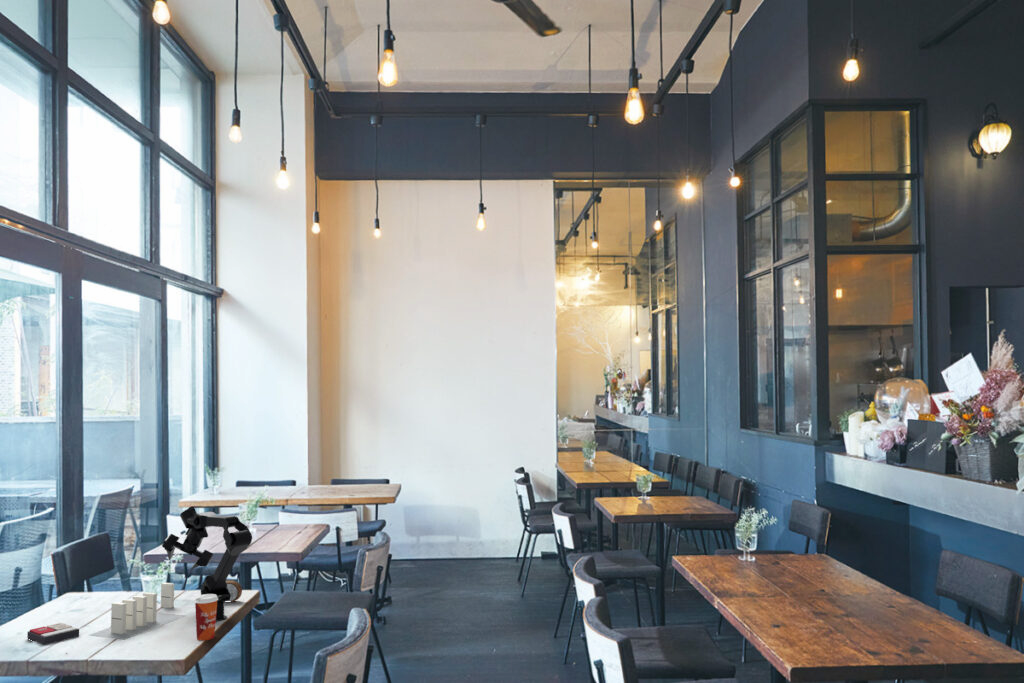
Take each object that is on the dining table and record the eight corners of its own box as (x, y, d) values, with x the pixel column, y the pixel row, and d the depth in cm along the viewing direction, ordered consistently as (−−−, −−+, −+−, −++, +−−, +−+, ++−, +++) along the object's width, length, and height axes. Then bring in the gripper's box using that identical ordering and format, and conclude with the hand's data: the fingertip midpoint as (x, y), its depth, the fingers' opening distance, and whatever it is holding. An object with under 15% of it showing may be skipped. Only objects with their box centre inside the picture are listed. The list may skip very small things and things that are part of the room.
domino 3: (135, 623, 263) (136, 595, 263) (146, 624, 261) (147, 596, 262) (132, 625, 261) (132, 596, 262) (142, 626, 259) (143, 597, 260)
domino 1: (114, 631, 254) (115, 602, 255) (125, 632, 252) (126, 603, 253) (110, 632, 253) (111, 603, 253) (121, 634, 251) (122, 604, 252)
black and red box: (62, 621, 259) (79, 626, 250) (61, 633, 259) (79, 639, 250) (27, 629, 251) (44, 635, 241) (26, 642, 250) (43, 648, 241)
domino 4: (145, 619, 267) (146, 592, 268) (156, 621, 265) (156, 593, 266) (142, 621, 265) (142, 593, 266) (152, 622, 264) (153, 594, 264)
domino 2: (125, 627, 258) (126, 598, 259) (136, 628, 257) (136, 599, 257) (121, 628, 257) (122, 600, 258) (132, 630, 255) (133, 601, 256)
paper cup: (202, 643, 243) (203, 600, 244) (188, 639, 247) (189, 597, 248) (222, 636, 250) (223, 595, 251) (208, 632, 254) (209, 592, 255)
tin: (242, 601, 294) (242, 579, 295) (238, 603, 291) (238, 581, 292) (207, 600, 296) (207, 579, 296) (203, 602, 293) (203, 581, 293)
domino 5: (163, 608, 285) (164, 582, 286) (173, 609, 283) (174, 583, 284) (160, 609, 283) (161, 583, 284) (170, 610, 282) (171, 584, 283)
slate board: (152, 614, 277) (153, 612, 277) (186, 618, 271) (186, 615, 272) (88, 638, 250) (88, 635, 250) (123, 642, 245) (123, 639, 245)
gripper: (225, 535, 291) (210, 561, 297) (181, 514, 288) (168, 541, 294) (213, 553, 281) (198, 579, 286) (168, 531, 278) (154, 559, 283)
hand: (180, 564), depth 288 cm, fingers open, 9 cm apart
